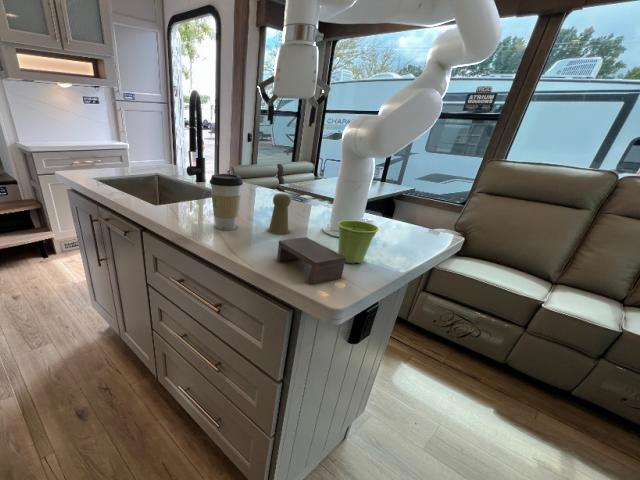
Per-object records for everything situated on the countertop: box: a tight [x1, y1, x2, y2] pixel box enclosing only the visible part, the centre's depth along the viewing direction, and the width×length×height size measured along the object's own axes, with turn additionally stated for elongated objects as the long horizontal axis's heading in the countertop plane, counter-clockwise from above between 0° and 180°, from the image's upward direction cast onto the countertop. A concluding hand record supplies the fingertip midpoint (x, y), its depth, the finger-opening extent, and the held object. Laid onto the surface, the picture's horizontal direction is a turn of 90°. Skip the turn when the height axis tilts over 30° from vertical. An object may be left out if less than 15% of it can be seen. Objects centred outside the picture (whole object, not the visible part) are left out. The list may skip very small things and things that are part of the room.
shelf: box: [276, 236, 346, 285], centre depth 72 cm, size 8×14×5 cm, turn 26°
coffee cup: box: [209, 173, 244, 231], centre depth 95 cm, size 10×10×15 cm
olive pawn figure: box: [268, 193, 292, 235], centre depth 95 cm, size 6×6×11 cm
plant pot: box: [337, 220, 380, 264], centre depth 77 cm, size 9×9×9 cm
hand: (290, 125), depth 80 cm, fingers open, 9 cm apart
